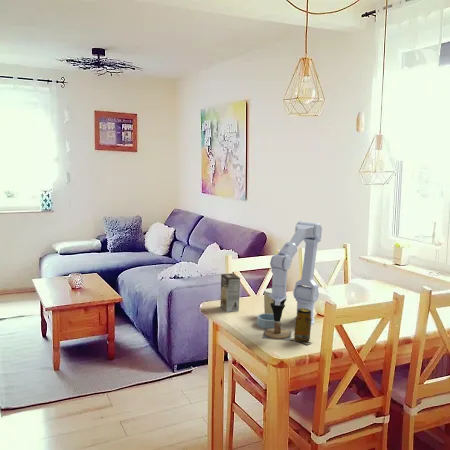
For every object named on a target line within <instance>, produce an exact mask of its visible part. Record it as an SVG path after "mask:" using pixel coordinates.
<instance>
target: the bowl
mask: <svg viewBox="0 0 450 450" xmlns="http://www.w3.org/2000/svg"><path fill="white" fill-rule="evenodd" d="M275 322H279V321H274V315H273V314H268V313H265V312H264V313H260V314H258V315H257V316H256V325H257V326H258V327H259V328H262V329H272V328H274V323H275Z"/></svg>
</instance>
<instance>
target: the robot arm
mask: <svg viewBox="0 0 450 450" xmlns="http://www.w3.org/2000/svg"><path fill="white" fill-rule="evenodd" d="M322 232H323V228H322V225H321V223H320V222H311V221H309V222H308V221H303V220H298V221H297V223H296V225H295V228H294V234H293V236H292V237H291V239H290V241H288V242H285V244H283V246H282V247H281V248H280V250H279V252H277V254H274V255H272V256H271V258H270V261H269V264H270V265H269V266H270V268H271V269H270V272H271V273H272V281H271V284H272V285H271V288H272V294H269V297H271V298H272V299H273V301H274V303H271V308H272V310H273V315H274V321H279V322H280V323H281V319H282V318H281V314H282V315H283V310H284V309H285V307H286V304H285V303H286V301H287V297H288V296H287V286H288V285H287V284H288V270H289V269H290V268H291V264H292V261H293V258H294V256H295V255H296V254H297V252H298V246H299V245H300V244H301V243H302V242H303V241H304V243H305V247H304V253H303V254H304V255H303V256H304V257H303V264H302V270H301V279H299V280H297V281H296V282H295V286H294V289H293V292H292V294H293V298H294V299H295V302H296V314H297V313H298V309H300V308H304V309H309V310H311V318H312V319H311V325H314V324H315V318H314V305H315V303H316V302H317V301H318V299H319V295H320V292H319V285H318V283H316V282H315V280H314V274H315V266H316V259H317V250H318V244H319V242H321V240H322V239H321V238H322ZM294 323H296V317H295V319H294Z"/></svg>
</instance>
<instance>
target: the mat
mask: <svg viewBox="0 0 450 450" xmlns="http://www.w3.org/2000/svg"><path fill="white" fill-rule="evenodd" d="M266 330H267V329H266V328H264V331H263V334H262V337H261V338H262V339H266V340H274V339H273V338H269V337H267V336H266V335H265V331H266ZM287 331H288V332H289V333H290V336H289V337H288V338H285V339H275V340H278V341H289V342H291V339H290V338H292V331H291V330H287Z"/></svg>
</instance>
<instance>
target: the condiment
mask: <svg viewBox="0 0 450 450" xmlns="http://www.w3.org/2000/svg"><path fill="white" fill-rule="evenodd" d="M295 318H296V323H295V322H294V323H295V326H294V334H293V335H294V337H291V338H290V339H291V340H292V341H295V342H298V343H301V344H306V345H312V344H313V342H311V341H310V340H311V329H312V324H311V319H312V318H311V310H309V309H304V308H300V309H298V313H297V312H296V315H295ZM291 340H290V341H291Z"/></svg>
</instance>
